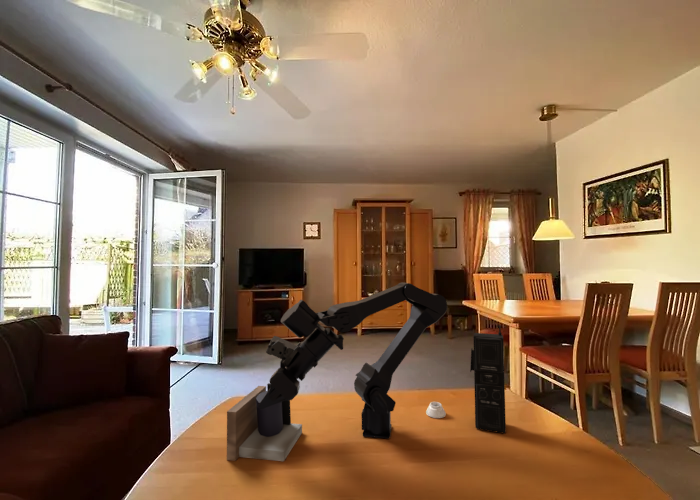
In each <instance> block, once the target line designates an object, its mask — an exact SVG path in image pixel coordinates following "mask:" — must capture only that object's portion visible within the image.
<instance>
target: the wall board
mask: <svg viewBox="0 0 700 500" xmlns="http://www.w3.org/2000/svg"><path fill="white" fill-rule="evenodd" d="M265 391H267V385H258V386H257V387H255V388H254V389H253V390H251V392H249V393H248V394H247V395H245V396H244V397H243V398H241V400H239V401H238V402H237V403H235V404H234V405H233V406H232V407H231V408H229V409H228V410H227V411H226V461H232V462H233V461H235V462H236V461H237V460H238V459H239V458H249V459H257V460H268V461H274V462H275V461H278V462H285V461H286V459H287V457H288V456H289V454H290V452H291V451H292V449H293V447H294V446H295V445H296V443H297V441H298V440H299V438H300V437H301V435H302V433H303V424H302V423H292V422H291V425H283V429H282V430H281V431H280V433H279V434H276V435H274V436H271V437H266V436H262V435H260V433H259V432H258V422H257V405H256V397H257V396H258V395H259V394H260V393H262V392H265Z"/></svg>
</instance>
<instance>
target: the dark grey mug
mask: <svg viewBox="0 0 700 500" xmlns="http://www.w3.org/2000/svg"><path fill="white" fill-rule="evenodd" d="M269 389H270V382H269V383H267V384H266V391H265V392H262V393H260V394H259V395H258V396H257V397H256V405H257V422H258V432H259V433H260V435H262V436H266V437H271V436H274V435H276V434H279V433H280V431H281V430H282V429H283V425H291V423H292V420H291V418H292V416H291V413H292V412H291V400H289V401H288V400H286V401H283V402H280V403H277V404H274V405H272V406H269V407H267V408H264V409H260V408H259V407H258V405H259V404H260V402H261V401H262V399H263V398H264V396H265V395H266V393H267V392H268V390H269Z"/></svg>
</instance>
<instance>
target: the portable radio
mask: <svg viewBox="0 0 700 500" xmlns="http://www.w3.org/2000/svg"><path fill="white" fill-rule="evenodd" d="M501 327H502V326H501V325H498V334H497V333H482V332H481V333H480V332H475V333H473V337H472V338H473V348H471V350H470V351H471V352H470V370H469V371H470V373H472V371H473V372H474V374H473V375H474V376H473V378H474V379H473V381H474V382H473V383H474V413H475V414H474V424H475V425H474V426H475V427H474V428H476V430H481V429H483V430H482V431H487V430H489V432H493V431H497V432H496V433H499V432H503V433H502V434H506V433H505V432H507V430H506V429H507V427H506V426H507V425H506V423H507V421H506V389H505V348H504V344H505V343H504V335H503V334H502V332H501V330H502V329H501Z"/></svg>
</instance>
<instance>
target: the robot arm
mask: <svg viewBox="0 0 700 500" xmlns="http://www.w3.org/2000/svg"><path fill="white" fill-rule="evenodd" d="M404 301H406V302H407V303H409V304H410V305H411V308H410V314H409V318H408V319H407V320H406V322H405V323H404V324H403V326H402V327H401V328H400V330H399V331H398V332H397V334H396V336H395V337H394V338H393V339H392V341H391V342H390V344H388V346H387V347H386V349H385V350H384V351H383V353H382V354H381V355H380V357H379V358H378V360H377V361H376V362H375V363H374V362H373V363H372V364H371V365H370V363H367V362H365V363H364V364H363V365H362V367H361V368H360V370H359V372H357V373H356V374H355V380H354V383H353V385H354V391H355V393H356V394H357V395H358V396H359V397H360V399H361V401H363V402H364V405H363V408H362V411H361V414H360V415H361V430H362V437H367V438H376V439H390V438H391V436H392V435H391V433H392V425H393V424H392V422H391V412H394V409H395V407H396V403H397V402H396V401H395V400H394V399H393V398H392V397H391V396H390V395H389V394H388V393H389V391H390V389H391V384H392V379H393V375H394V373H395V371H396V370H397V369H398V367H399V366H400V365H401V363H402V362H403V361H404V360H405V358H406V356H408V354H409V352H410V351H411V349H412V348H413V347H414V345H415V344H416V343H417V341H418V339H419V338H420V337H421V335H422V334H423V333H424V331H425V330H426V329H427V328H428V327H431V326H432V325H434V324H436V323H437V322H438V321H439V320H440V319H441V318H442V317H443V316H444V315H445V314H446V312H447V310H448V303H447V300H446V298H445V296H443V295H442V294H438V293H432V292H428V291H426V290H424V289H421V288H419V287H417V286H415V285H413V284H412V283H410V282H399V283H398V284H396V285H394V286H392V287H389V288H387V289H384V290H382V291H380V292H377V293H375V294H372V295H369V296H367V297H365V298H362V299H359V300H355V301H347V302H342V303H337V304H333V305H331V306H329V308H327V310H323V311H318V312H315V310H313V309H312V308H311V307H310V306H309V305H308V303H307V302H306V301H304V300H303V299H300V300H299V301H298V302H297V303H295V304H294V305H292V306H291V307H290V308H288V309H287V310H286V311H285V313H283V315H282V317H281V318H280V323H281V324H283V325H284V326H285V327H286V328H287V329H288V330H289V331H290V332H292V333H293V334H294V335H295V336H296V337H297V338H299V339H300V338H303V337H304V338H305V339H304V340H303V341H301V342H300V341H299V342H298V343H297V344H294V343H292V342H291V341H288V340H286V339H284V338H282V337H279V336H277V335H273V337H272V338H271V339H270V342H269V343H268V346H267V347H266V350H265V353H266V354H267V355H269V356H274V357H276V358H278V359H280V362H279V366H280V367H279V368H278V369H276V371H275V372H274V373H273V374H272V375H271V377H270V378H269V383H270V389H269V390H268V389H267V391H268V392H267V393H266V395H265V396H264V398H263V399H262V401H261V402H260V404H259V405H258V407H259V408H260V409H264V408H267V407H269V406H272V405H274V404H277V403H280V402H283V401H286V400H288V401H289V400H290V401H293V399H294V398H295V397H296V396H297V395H298V394H299V391H300V388H301V386H300V381H303V380H304V379H305V378H306V375H308V373H309V372H310V371H312V369H313V368H316V367H317V366H318V365H319V361H320V360H322V359H323V358H324V356H325V355H326V354H327V353H328V352H330V350H331V349H332V348H333V347H334V346H336V347H337V348H338V349H339V350H341V351H343V350H344V340H345V338H344V336H343V334H337V333H335V331H333V330H332V329H331V328H333V329H334V330H336V331H337V332H340V333H347V332H350V331H351V330H353V329H354V328H356V327H357V326H358V325H361V323H362V322H363V321H365V320H366V318H369V316H371V315H374V314H376V313H379V312H381V311H383V310H386V309H388V308H390V307H392V306H396V305H397V304H400V303H401V302H404ZM321 324H322V325H321ZM323 325H324V326H326V327H324V326H323ZM298 379H299V380H300V381H299V380H298Z"/></svg>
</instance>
